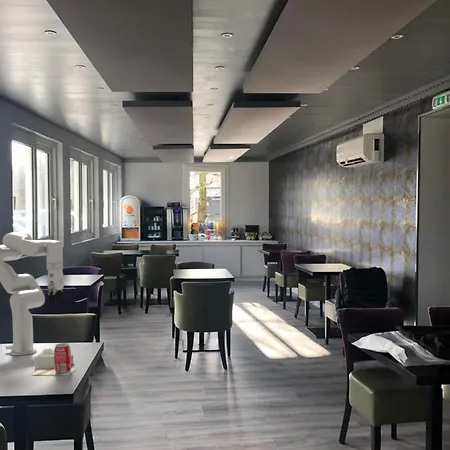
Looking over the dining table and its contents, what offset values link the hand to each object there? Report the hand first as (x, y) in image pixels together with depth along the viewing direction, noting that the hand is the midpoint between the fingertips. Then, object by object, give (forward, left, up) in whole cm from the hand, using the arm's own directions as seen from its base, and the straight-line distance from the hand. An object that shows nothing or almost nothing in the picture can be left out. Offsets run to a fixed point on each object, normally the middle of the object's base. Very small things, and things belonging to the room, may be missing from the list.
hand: (55, 301), depth 259 cm
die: (+8, -9, -28) cm, 31 cm away
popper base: (-1, -10, -28) cm, 30 cm away
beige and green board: (+6, -22, -28) cm, 36 cm away
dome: (-1, -10, -25) cm, 27 cm away
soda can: (+10, -22, -28) cm, 37 cm away
